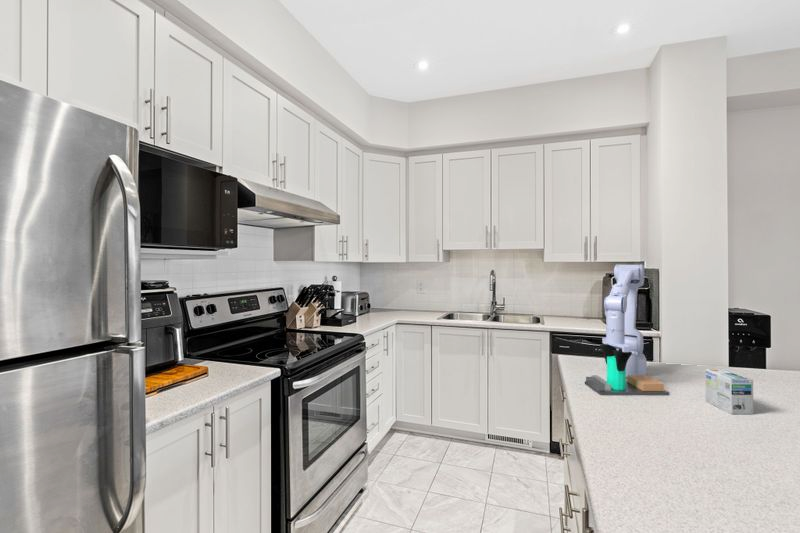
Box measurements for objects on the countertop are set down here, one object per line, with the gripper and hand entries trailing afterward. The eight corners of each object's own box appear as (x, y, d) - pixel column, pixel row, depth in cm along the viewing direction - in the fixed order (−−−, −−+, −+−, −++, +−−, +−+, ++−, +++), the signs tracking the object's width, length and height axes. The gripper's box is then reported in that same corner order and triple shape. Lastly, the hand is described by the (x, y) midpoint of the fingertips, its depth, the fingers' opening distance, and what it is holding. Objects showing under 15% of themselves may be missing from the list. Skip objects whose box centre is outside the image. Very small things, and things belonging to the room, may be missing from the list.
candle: (623, 385, 141) (623, 351, 141) (628, 390, 135) (628, 355, 135) (605, 383, 143) (605, 351, 143) (608, 389, 137) (608, 354, 137)
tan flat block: (646, 381, 145) (646, 375, 144) (664, 391, 135) (664, 383, 134) (627, 381, 145) (627, 375, 145) (643, 391, 135) (643, 383, 135)
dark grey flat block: (647, 383, 146) (647, 374, 145) (668, 395, 134) (668, 385, 133) (584, 383, 146) (584, 374, 146) (600, 395, 134) (600, 385, 134)
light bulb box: (754, 414, 117) (754, 378, 117) (731, 414, 117) (731, 378, 117) (725, 401, 128) (725, 368, 127) (704, 401, 128) (704, 368, 127)
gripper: (594, 326, 147) (594, 362, 147) (614, 333, 132) (614, 373, 133) (613, 325, 147) (613, 362, 147) (635, 333, 132) (635, 373, 132)
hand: (615, 367), depth 140 cm, fingers open, 7 cm apart
